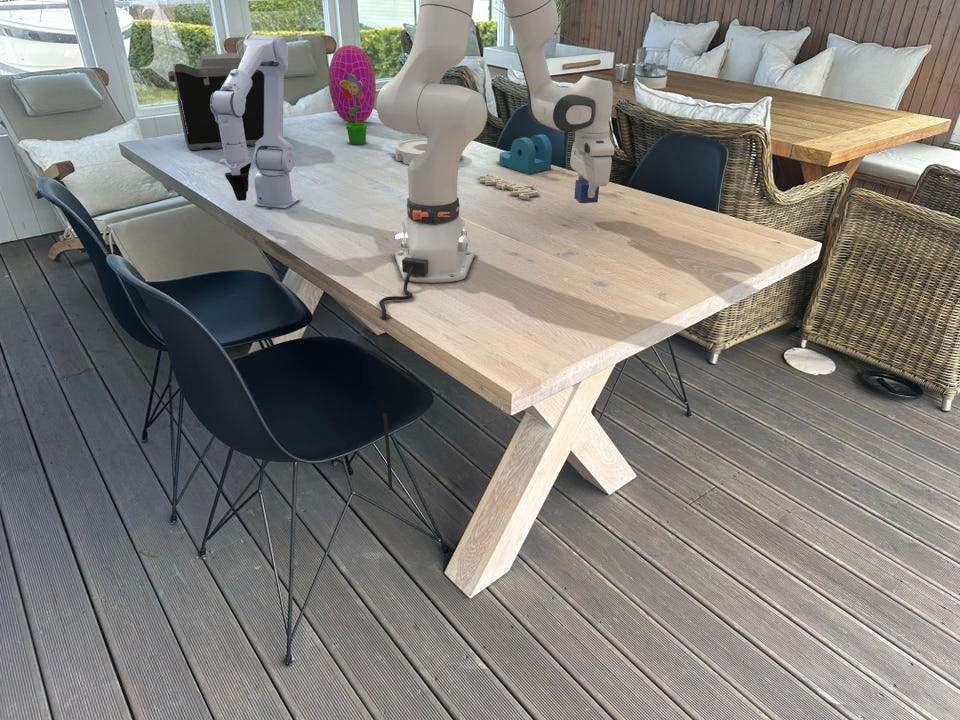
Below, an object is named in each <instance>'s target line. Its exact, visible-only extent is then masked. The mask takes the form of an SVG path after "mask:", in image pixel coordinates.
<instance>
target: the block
mask: <svg viewBox="0 0 960 720" xmlns="http://www.w3.org/2000/svg"><path fill="white" fill-rule="evenodd" d="M588 188H589V181H588V180H578V179H576V180H575V183H574V197H573V198H574V199H575V200H576V201H577V202H578V204H594V203H598V201H599V194H600V186H597V189H596V191H595V196H594V197H593V198H589V197H588V196H587V190H588Z"/></svg>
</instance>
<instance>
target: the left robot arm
mask: <svg viewBox="0 0 960 720" xmlns="http://www.w3.org/2000/svg"><path fill="white" fill-rule="evenodd" d="M242 43H243V55H242V58H241V59H242V60H241V62H240V65H239V67H238V69H234V70H231V72H230V74H229V75H228V77H227V79H226V80H225V82H224V84H223V86H222V87H221V89H220V91H215V92H214V93H213V94H212V95H211V98H210V108H211V111H212V113H213V114H214V116H215V121H216V122H217V123H218V124H219V130H220V135H221V141H222V146H223V147H222V151H223V157H224V159H220V160H219V163H220V165H225V166H226V167H228V169H229V170H230V172H225V173H224V177H225V179H226V180H227V181H228V183H229V185H230V187H231V188H232V191H233V193H234V195H235V199H236V200H237V201H238V202H241V201H242V202H243V201H247V192H249V178H250V177H249V175H250V169H251V166H252V162H251V160H250V158H249V152H248V146H247V145H246V139H245V133H244V127H243V120H242V115H243V114H244V112H245V103H246V96H247V94H248V92H249V90H250V89H251V87H252V79H251V77H252V75H253V74H254V72H255V71H256V70H257V69H258V70H260V71H262V72H263V74H264V136H263V137H262V138H260V139H259V140H258V141H257V142H256V146H254V147H255V148H254V152H253V156H252V160H253V165H254V167H255V169H257V171H258V172H257V173H256V174H255V176H254V180H253V181H254V182H253V183H254V189H255V196H256V203H255V205H256V206H259V207H269V208H275V209H287V208H289V207H291V206H293V205H294V204H295V203H297V202H299V201H300V200H299V198H293V193H292V186H291V185H292V184H291V177H290V173H291V172H292V171H293V169H294V167H295V156H294V151H293V149H294V148H293V145H292V144H291V143H290V142H289V141H288V140H287V139H286V138H285V137H284V99H285V98H284V96H285V94H284V92H285V91H284V90H285V89H284V87H285V73H286V72H287V71H288V69H289V47H288V44H287V41H286V39H285V37H284V36H283V35H281V34H276V35H268V34H266V35H264V34H251V33H249V34H247V35H246V36H245V38H244V40H243V42H242Z"/></svg>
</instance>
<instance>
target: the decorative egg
mask: <svg viewBox="0 0 960 720" xmlns="http://www.w3.org/2000/svg"><path fill="white" fill-rule="evenodd" d="M348 73H350V74H352V75H354V76H355V78H356V83H357V82H358V81H361V82H362V84H363V89H361V90H360V91H361V92H362V93H363V98H362V100H359V99H358V98H357V97H356V95H355V103H356V106H359V109H358V110H356V116H357V123H364V122H365V121H366V120H368V118H369V117H370V116H371V114H372V112H373V111H374V106H375V103H376V102H375V101H376V96H377V95H376V94H377V83H376V82H377V81H376V75H375V71H374V68H373V63H372V62H371V60H370V57H369V56H368V54H367V53H366V51H365V50H363V48H361V47H359V46H357V45H353V44H352V45H351V44H348V45H343V46H340V47H338V48H337V49H336V51H334V53H333V56H332V57H331V61H330V63H329V69H328V90H329V96H330V99H331V103H332V105H333V108H334V110H335V111H336V113H337V114H338V116H339V118H341V119H342V120H343V121H344V122H346V123H348V124H349V123H355V115H351V114H349V112H348V111H349V110H354V100H353V95H352V96H351V97H350V98H348V99H341V97H342V94H343V93H344V91H345V90H347V89H346V88H343V87H342V86H341V85H340V84H339V83H340V82H341V81H342V80H346V81H349V78H348Z"/></svg>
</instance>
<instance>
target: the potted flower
mask: <svg viewBox="0 0 960 720" xmlns="http://www.w3.org/2000/svg"><path fill="white" fill-rule="evenodd" d="M348 78H349V81H346V80H342V81H341V82H340V83H339V84H340V85H341V86H342V87H343V88H346V89H347V90H345V91H344V93H343V94H342V97H341V99H348V98H350V97H351V96H352V95H353V100H354V110H349V111H348V112H349V114H351V115H355V123H349V122H348V123H347V124H346V125H345V128H346V131H347V136H348V141H349V144H352V145H363V144H366V143H367V129H368V124H367V123H366V122H365V123H364V122H361V123H357V116H356V110H358V109H359V106H356V103H355V95H356V97H357V98H358V99H359V100H362V98H363V93H362V92H361V91H360V90H361V89H363V84H362V82H361V81H358V82H357V83H356V78H355V76H354V75H352V74H350V73H348Z"/></svg>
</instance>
